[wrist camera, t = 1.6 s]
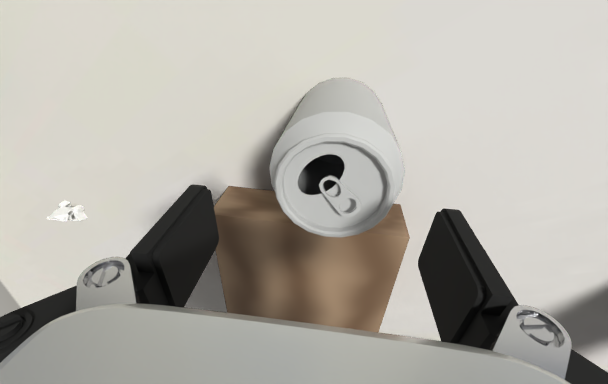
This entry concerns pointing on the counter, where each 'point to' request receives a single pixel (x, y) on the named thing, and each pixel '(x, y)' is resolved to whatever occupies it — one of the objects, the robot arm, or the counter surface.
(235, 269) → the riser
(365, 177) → the can
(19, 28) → the counter surface
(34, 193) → the counter surface
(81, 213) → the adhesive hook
